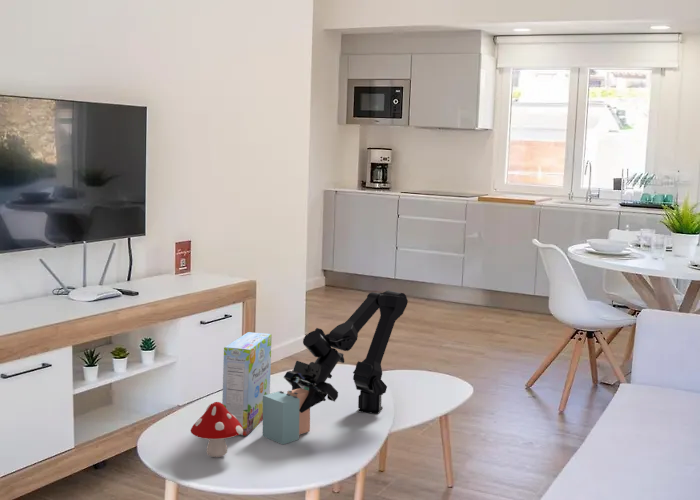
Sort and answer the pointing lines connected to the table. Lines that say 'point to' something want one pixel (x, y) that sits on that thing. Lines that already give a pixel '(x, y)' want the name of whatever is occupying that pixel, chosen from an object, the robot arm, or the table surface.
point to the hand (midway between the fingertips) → (295, 409)
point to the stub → (305, 416)
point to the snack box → (247, 378)
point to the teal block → (281, 417)
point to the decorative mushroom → (217, 428)
